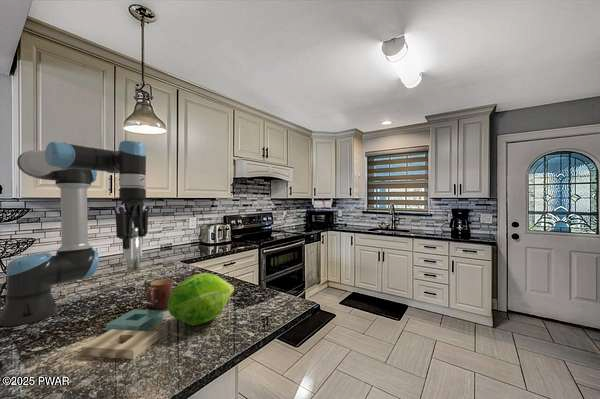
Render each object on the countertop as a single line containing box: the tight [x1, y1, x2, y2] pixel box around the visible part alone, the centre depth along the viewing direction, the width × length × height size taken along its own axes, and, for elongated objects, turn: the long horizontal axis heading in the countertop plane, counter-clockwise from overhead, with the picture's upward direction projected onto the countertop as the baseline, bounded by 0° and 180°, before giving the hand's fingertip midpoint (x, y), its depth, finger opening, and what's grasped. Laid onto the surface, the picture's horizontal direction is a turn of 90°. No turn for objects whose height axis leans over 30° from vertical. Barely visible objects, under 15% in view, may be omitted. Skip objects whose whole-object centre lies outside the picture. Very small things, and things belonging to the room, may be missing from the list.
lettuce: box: [167, 272, 235, 326], centre depth 93 cm, size 19×25×17 cm
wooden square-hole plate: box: [81, 329, 159, 360], centre depth 76 cm, size 16×10×2 cm, turn 83°
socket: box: [105, 308, 164, 333], centre depth 90 cm, size 12×12×3 cm
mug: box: [146, 278, 175, 310], centre depth 105 cm, size 12×9×10 cm
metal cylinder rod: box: [126, 226, 140, 272], centre depth 85 cm, size 4×4×14 cm
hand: (133, 257), depth 85 cm, fingers closed on metal cylinder rod, 4 cm apart
